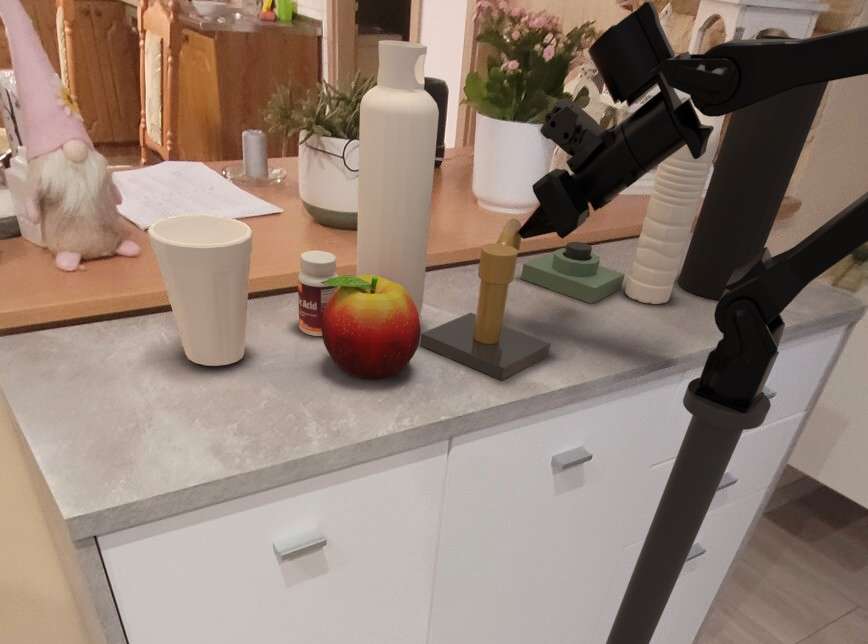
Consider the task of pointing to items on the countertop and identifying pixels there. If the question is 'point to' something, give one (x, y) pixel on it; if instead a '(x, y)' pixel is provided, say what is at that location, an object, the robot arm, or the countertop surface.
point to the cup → (206, 282)
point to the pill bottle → (314, 289)
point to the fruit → (370, 326)
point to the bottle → (396, 170)
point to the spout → (501, 255)
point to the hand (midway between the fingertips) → (521, 234)
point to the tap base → (482, 353)
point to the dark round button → (578, 251)
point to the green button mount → (573, 276)
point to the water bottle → (670, 220)
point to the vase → (748, 186)
